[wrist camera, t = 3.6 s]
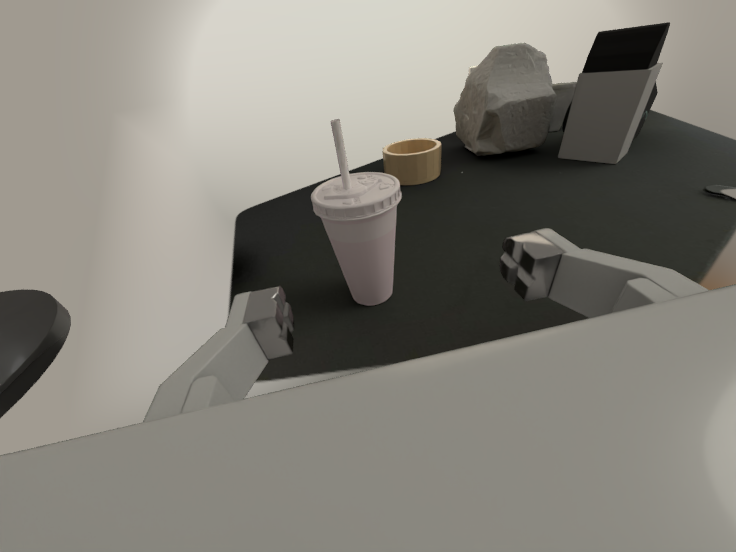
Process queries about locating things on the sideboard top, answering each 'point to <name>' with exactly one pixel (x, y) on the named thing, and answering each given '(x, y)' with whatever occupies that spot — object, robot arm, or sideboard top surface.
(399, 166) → the tan hollow round container
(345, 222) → the smoothie
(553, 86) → the mineral specimen
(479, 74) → the stone
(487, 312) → the sideboard top surface
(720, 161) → the sideboard top surface
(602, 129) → the decorative object
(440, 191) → the sideboard top surface
